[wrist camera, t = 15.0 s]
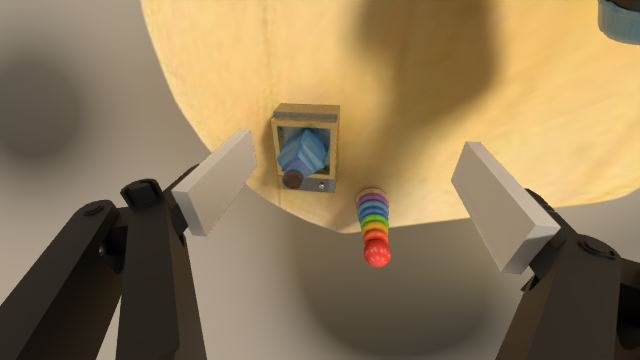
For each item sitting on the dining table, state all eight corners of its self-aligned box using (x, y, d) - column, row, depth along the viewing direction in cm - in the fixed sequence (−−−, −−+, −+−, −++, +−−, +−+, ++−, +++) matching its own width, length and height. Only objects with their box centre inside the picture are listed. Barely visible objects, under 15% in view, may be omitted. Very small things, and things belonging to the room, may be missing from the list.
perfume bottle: (308, 126, 44) (292, 157, 34) (328, 150, 46) (319, 185, 36) (285, 143, 46) (265, 176, 37) (305, 165, 49) (291, 201, 39)
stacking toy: (361, 213, 61) (361, 278, 46) (351, 190, 57) (347, 253, 42) (391, 207, 58) (402, 273, 43) (383, 182, 54) (390, 246, 39)
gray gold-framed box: (281, 103, 47) (270, 115, 41) (339, 105, 45) (336, 118, 40) (288, 176, 57) (280, 193, 52) (336, 180, 56) (333, 198, 50)
